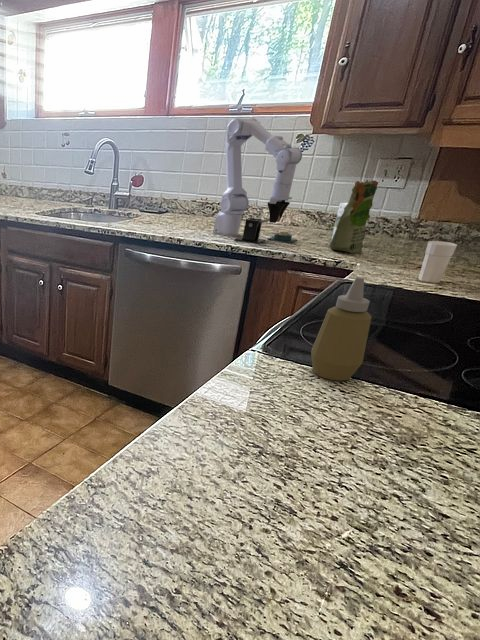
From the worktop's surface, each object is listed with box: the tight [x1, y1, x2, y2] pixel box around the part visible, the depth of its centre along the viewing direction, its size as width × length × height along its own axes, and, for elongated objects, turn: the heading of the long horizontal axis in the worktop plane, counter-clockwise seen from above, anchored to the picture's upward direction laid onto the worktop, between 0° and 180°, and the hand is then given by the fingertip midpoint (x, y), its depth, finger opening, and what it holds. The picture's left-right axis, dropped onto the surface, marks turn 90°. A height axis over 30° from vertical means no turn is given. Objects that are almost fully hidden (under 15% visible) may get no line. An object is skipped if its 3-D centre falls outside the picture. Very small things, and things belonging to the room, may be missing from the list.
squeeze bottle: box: [310, 276, 372, 382], centre depth 91 cm, size 8×8×18 cm
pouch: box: [328, 179, 379, 255], centre depth 185 cm, size 11×12×25 cm
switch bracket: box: [234, 217, 267, 245], centre depth 201 cm, size 9×8×9 cm
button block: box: [266, 232, 298, 244], centre depth 204 cm, size 9×6×3 cm, turn 46°
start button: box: [278, 229, 289, 235], centre depth 203 cm, size 3×3×2 cm
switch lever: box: [258, 215, 281, 226], centre depth 197 cm, size 11×3×3 cm, turn 46°
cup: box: [417, 240, 458, 284], centre depth 153 cm, size 7×7×11 cm
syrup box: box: [330, 202, 348, 241], centre depth 205 cm, size 6×6×14 cm
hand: (274, 222), depth 195 cm, fingers closed on switch lever, 3 cm apart
